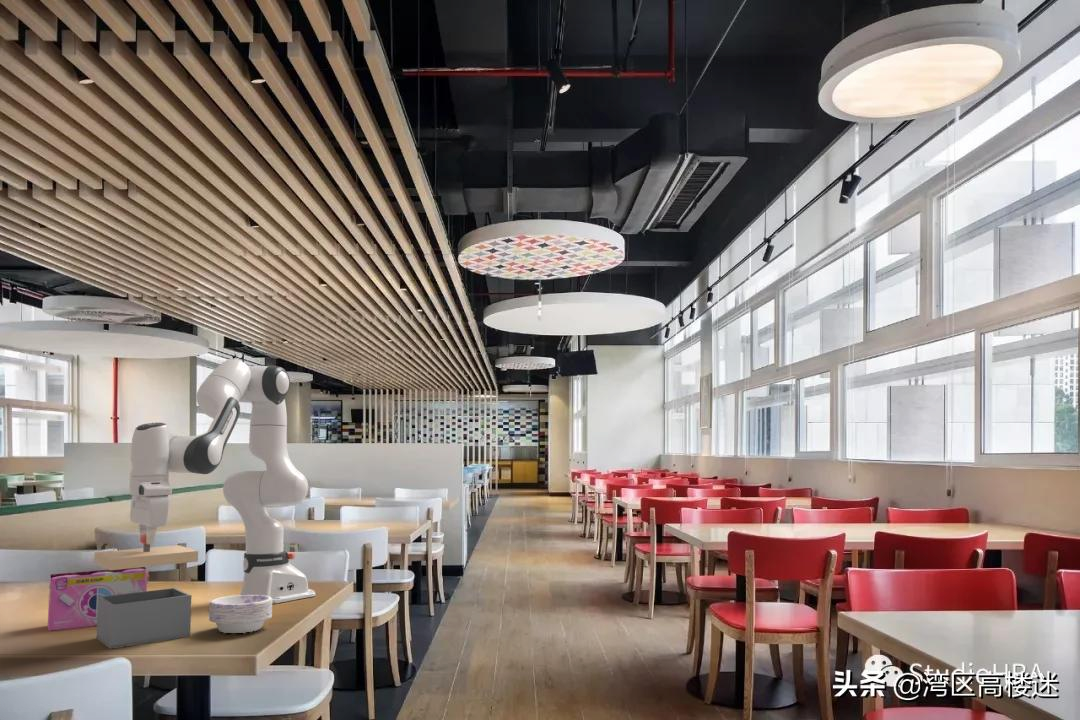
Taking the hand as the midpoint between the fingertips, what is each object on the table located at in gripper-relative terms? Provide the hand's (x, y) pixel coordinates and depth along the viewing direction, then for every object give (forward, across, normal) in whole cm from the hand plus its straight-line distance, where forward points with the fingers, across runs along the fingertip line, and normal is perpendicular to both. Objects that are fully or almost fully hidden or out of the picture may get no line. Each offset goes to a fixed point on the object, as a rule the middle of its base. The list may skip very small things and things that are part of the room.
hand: (147, 542), depth 203 cm
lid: (+5, 0, 0) cm, 5 cm away
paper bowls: (+23, +9, +21) cm, 32 cm away
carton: (+23, 0, 0) cm, 23 cm away
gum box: (+23, -26, -5) cm, 36 cm away
